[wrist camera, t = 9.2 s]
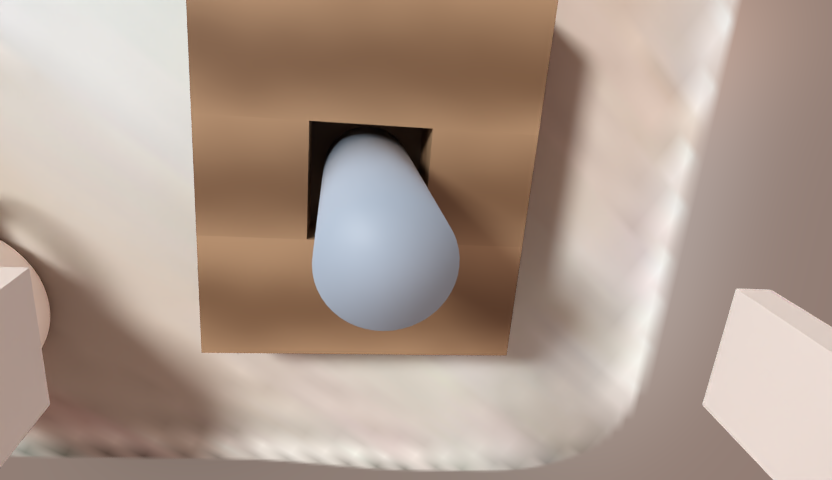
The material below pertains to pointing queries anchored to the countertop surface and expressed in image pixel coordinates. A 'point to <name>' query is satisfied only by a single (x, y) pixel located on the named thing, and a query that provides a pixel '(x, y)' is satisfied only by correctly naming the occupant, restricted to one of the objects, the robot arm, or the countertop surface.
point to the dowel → (380, 235)
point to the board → (338, 113)
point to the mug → (10, 257)
